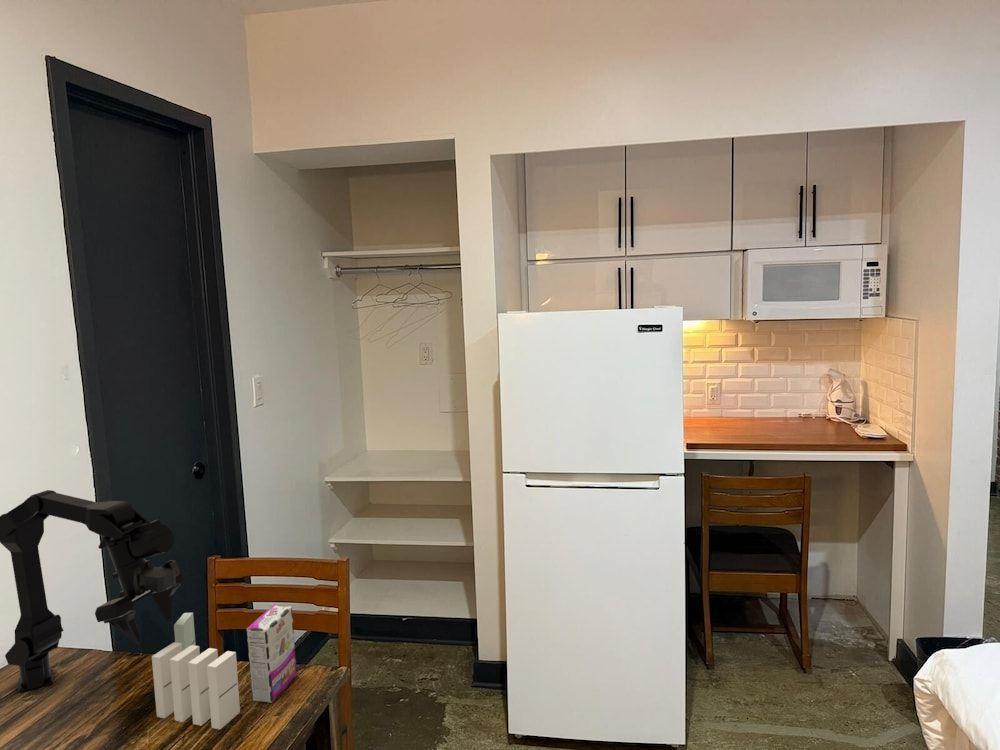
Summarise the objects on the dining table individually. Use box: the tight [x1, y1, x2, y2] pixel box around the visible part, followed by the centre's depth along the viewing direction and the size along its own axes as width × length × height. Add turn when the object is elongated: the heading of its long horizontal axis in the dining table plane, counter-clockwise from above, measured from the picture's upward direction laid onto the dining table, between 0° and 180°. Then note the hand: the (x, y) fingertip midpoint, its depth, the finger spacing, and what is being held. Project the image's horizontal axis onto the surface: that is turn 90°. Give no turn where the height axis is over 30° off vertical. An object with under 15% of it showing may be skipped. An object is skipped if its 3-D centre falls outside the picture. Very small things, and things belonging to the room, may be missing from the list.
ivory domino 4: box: [207, 650, 241, 730], centre depth 141 cm, size 2×6×13 cm, turn 162°
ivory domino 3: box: [188, 647, 219, 727], centre depth 142 cm, size 2×6×13 cm, turn 162°
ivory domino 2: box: [170, 645, 201, 723], centre depth 144 cm, size 2×6×13 cm, turn 162°
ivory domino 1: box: [151, 641, 182, 719], centre depth 145 cm, size 2×6×13 cm, turn 162°
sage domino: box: [173, 612, 197, 651], centre depth 159 cm, size 2×6×13 cm, turn 4°
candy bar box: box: [246, 604, 298, 704], centre depth 152 cm, size 11×5×16 cm, turn 168°
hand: (154, 632), depth 147 cm, fingers open, 9 cm apart
